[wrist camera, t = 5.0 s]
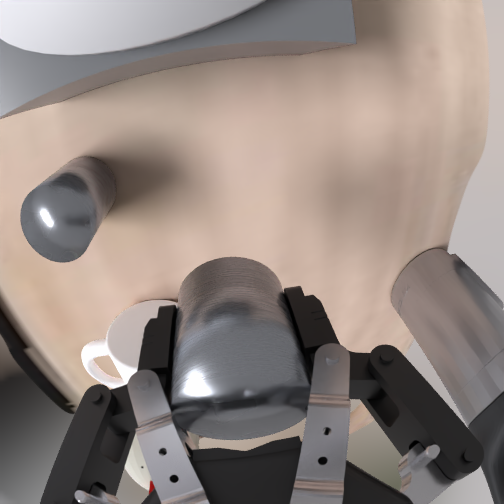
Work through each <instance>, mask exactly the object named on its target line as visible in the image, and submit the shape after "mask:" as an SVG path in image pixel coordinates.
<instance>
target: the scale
mask: <svg viewBox="0 0 504 504" xmlns="http://www.w3.org/2000/svg"><path fill="white" fill-rule="evenodd" d="M353 44H356V34H355V25H354V16H353V8H352V1H351V0H0V119H2V118H5V117H8V116H11V115H14V114H17V113H21V112H24V111H28V110H31V109H35V108H39V107H42V106H46V105H51V104H55V103H59V102H61V101H64V100H66V99H69V98H71V97H74V96H76V95H79V94H82V93H85V92H87V91H90V90H93V89H96V88H99V87H102V86H105V85H108V84H112V83H115V82H118V81H122V80H125V79H129V78H132V77H136V76H140V75H144V74H148V73H152V72H156V71H161V70H165V69H170V68H175V67H180V66H185V65H191V64H197V63H203V62H210V61H218V60H226V59H235V58H245V57H258V56H276V55H302V54H307V53H311V52H316V51H320V50H325V49H330V48H336V47H341V46H347V45H353Z"/></svg>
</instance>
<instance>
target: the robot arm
mask: <svg viewBox="0 0 504 504" xmlns="http://www.w3.org/2000/svg"><path fill="white" fill-rule="evenodd" d="M284 295H285V298H286V301H287V305H288V308H289V311H290V314H291V317H292V320H293V323H294V326H295V329H296V332H297V336H298V339H299V342H300V345H301V348H302V351H303V354H304V358H305V361H306V364H307V367H308V370H309V373H310V377H311V380H312V384H311V391H310V398H309V404H308V411H307V417H306V424H305V430H304V436H303V442H301V441H300V437H299V436H296V437H292V438H286V439H281V440H275V441H272V442H269V443H267V444H264V445H262V446H259V447H256V448H254V449H251V450H248V451H239V450H230V449H222V448H211V449H197V448H196V447H195V445H194V443H193V441H192V439H191V437H190V435H189V433H188V431H187V430H186V429H185V428H184V429H183V428H181V427H180V426H179V424H178V422H177V420H176V418H175V416H174V413H173V411H172V409H171V408H170V403H171V382H172V365H173V351H174V338H175V326H176V315H177V307H176V305H167V306H160V307H159V309H158V315H157V318H151V319H150V320H149V321H148V323H147V324H146V326H145V328H144V334H143V339H142V345H141V351H140V357H139V363H138V369H137V372H136V373H134V374H133V375H132V376H131V377H130V379H129V380H128V383H127V384H126V385H123V386H120V387H117V388H114V389H111V390H109V388H108V387H107V386H105V385H101V384H97V385H94V386H91V387H90V388H89V389H88V390H87V391H86V392H85V394H84V396H83V398H82V400H81V402H80V404H79V407H78V409H77V411H76V413H75V415H74V418H73V420H72V422H71V424H70V427H69V429H68V431H67V434H66V436H65V439H64V441H63V443H62V445H61V448H60V450H59V453H58V456H57V458H56V461H55V463H54V466H53V468H52V471H51V474H50V476H49V479H48V482H47V484H46V487H45V490H44V493H43V496H42V499H41V502H40V504H120V502H119V500H118V499H117V498H116V497H115V496H116V493H117V490H118V486H119V483H120V480H121V477H122V473H123V470H124V467H125V464H126V461H127V458H128V455H129V452H130V449H131V446H132V443H133V440H134V437H135V434H136V435H137V439H138V442H139V445H140V448H141V451H142V454H143V457H144V460H145V462H146V465H147V468H148V471H149V473H150V476H151V479H152V481H153V484H154V486H155V488H154V489H153V490H152V492H151V493H150V494H149V495H148V496H147V498H146V499H145V500H144V501H143V502H142V504H429V503H430V502H431V501H433V500H434V499H435V498H436V497H437V496H439V495H440V494H441V493H442V492H443V491H444V490H446V489H447V488H448V487H449V486H450V485H451V484H453V483H455V482H456V481H458V480H460V479H462V478H464V477H465V476H467V475H469V474H470V473H472V472H474V471H475V470H477V469H478V468H479V467H480V465H481V468H482V470H483V472H484V475H485V477H486V480H487V483H488V486H489V489H490V492H491V495H492V498H493V501H494V504H504V310H503V302H502V301H501V300H500V299H499V298H498V296H497V295H496V294H495V293H494V292H493V291H492V290H491V289H490V288H489V287H488V286H487V285H486V284H485V283H484V282H483V281H482V280H481V279H480V277H479V276H478V275H476V273H475V272H474V271H472V269H471V268H470V267H468V266H467V265H466V264H465V263H464V262H463V261H462V260H461V259H460V258H459V257H458V256H457V255H456V254H452V255H450V254H449V253H448V252H447V251H445V250H443V249H432V250H428V251H426V252H424V253H422V254H421V255H419V256H418V257H416V258H415V259H414V260H413V261H411V262H410V263H409V264H408V265H407V266H406V268H405V269H404V270H403V271H402V273H401V274H400V275H399V277H398V279H397V280H396V282H395V284H394V287H393V290H392V295H391V301H392V305H393V307H394V308H395V310H396V311H397V313H398V314H399V316H400V317H401V318H402V320H403V321H404V323H405V324H406V326H407V327H408V329H409V330H410V332H411V333H412V335H413V336H414V338H415V339H416V341H417V343H418V344H419V346H420V347H421V348H422V350H423V352H424V353H425V355H426V356H427V358H428V360H429V361H430V363H431V364H432V366H433V368H434V369H435V371H436V372H437V374H438V376H439V377H440V379H441V381H442V382H443V384H444V386H445V387H446V389H447V390H448V392H449V394H450V396H451V398H452V399H453V401H454V403H455V404H456V406H457V408H458V409H459V412H460V413H461V415H462V417H463V419H464V421H465V423H466V424H467V426H469V427H468V428H469V429H468V428H467V427H466V426H465V424H464V423H463V422H462V421H461V420H460V418H459V417H458V416H457V415H456V414H455V413H454V411H453V410H452V409H451V408H450V407H449V406H448V405H447V404H446V402H445V401H444V400H443V399H442V398H441V397H440V395H439V394H438V393H437V392H436V391H435V390H434V389H433V387H432V386H431V385H430V384H429V383H428V382H427V381H426V380H425V378H424V377H423V376H422V375H421V374H420V373H419V372H418V371H417V370H416V369H415V367H414V366H413V365H412V364H411V363H410V362H409V361H408V360H407V359H406V358H405V356H404V355H403V354H402V353H401V352H400V351H399V350H398V349H397V348H395V347H393V346H391V345H379V346H377V347H375V348H374V349H373V350H372V351H371V353H355V352H351V351H348V350H347V349H346V348H345V347H344V346H342V345H340V343H339V341H338V339H337V337H336V334H335V332H334V330H333V328H332V325H331V323H330V321H329V319H328V317H327V314H326V312H325V310H324V307H323V305H322V303H321V301H320V300H319V299H317V298H316V297H315V296H314V295H309V296H304V293H303V291H302V288H301V286H296V287H290V288H285V289H284ZM349 399H360V400H361V401H362V403H363V404H364V405H365V407H366V408H367V409H368V411H369V412H370V413H371V415H372V416H373V417H374V419H375V420H376V422H377V423H378V424H379V426H380V427H381V428H382V430H383V431H384V432H385V434H386V435H387V436H388V438H389V439H390V441H391V442H392V443H393V445H394V446H395V447H396V449H397V450H398V451H399V453H400V454H401V455H402V459H401V460H400V462H399V465H398V471H399V474H400V476H401V479H402V487H401V489H400V491H398V490H396V489H394V488H392V487H391V486H389V485H387V484H385V483H384V482H382V481H380V480H378V479H377V478H375V477H373V476H371V475H370V474H368V473H367V472H365V471H363V470H362V469H360V468H358V467H357V466H355V465H354V464H352V463H351V462H349V461H347V460H346V457H347V447H348V436H349V423H350V405H351V404H350V400H349Z"/></svg>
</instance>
